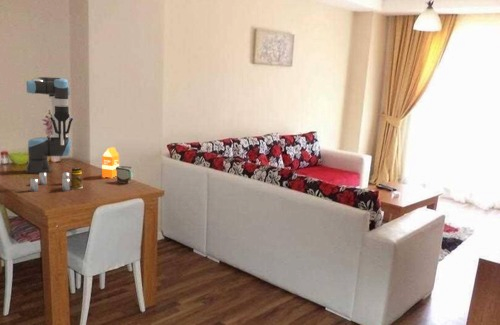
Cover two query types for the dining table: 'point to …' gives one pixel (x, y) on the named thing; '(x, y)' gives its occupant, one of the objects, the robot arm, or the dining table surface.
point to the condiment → (76, 178)
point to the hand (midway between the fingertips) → (62, 144)
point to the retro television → (123, 174)
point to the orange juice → (110, 163)
